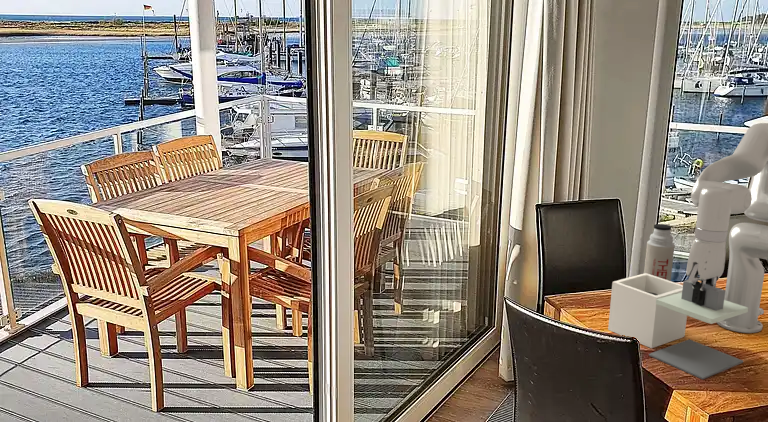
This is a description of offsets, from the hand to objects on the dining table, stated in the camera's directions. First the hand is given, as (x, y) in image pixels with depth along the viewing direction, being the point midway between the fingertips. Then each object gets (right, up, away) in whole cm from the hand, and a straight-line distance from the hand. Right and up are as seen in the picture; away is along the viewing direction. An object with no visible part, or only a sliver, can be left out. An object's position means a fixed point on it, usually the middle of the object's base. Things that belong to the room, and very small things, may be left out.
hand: (702, 301), depth 181 cm
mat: (0, -16, +4) cm, 17 cm away
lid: (0, -2, 0) cm, 2 cm away
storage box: (-7, -12, +21) cm, 25 cm away
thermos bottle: (+2, -8, +38) cm, 39 cm away
